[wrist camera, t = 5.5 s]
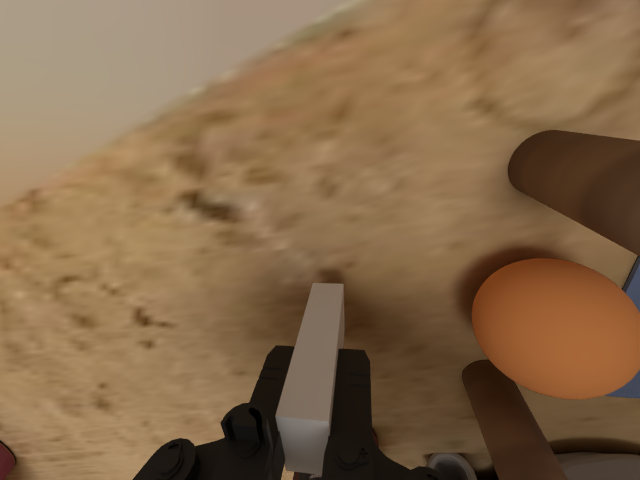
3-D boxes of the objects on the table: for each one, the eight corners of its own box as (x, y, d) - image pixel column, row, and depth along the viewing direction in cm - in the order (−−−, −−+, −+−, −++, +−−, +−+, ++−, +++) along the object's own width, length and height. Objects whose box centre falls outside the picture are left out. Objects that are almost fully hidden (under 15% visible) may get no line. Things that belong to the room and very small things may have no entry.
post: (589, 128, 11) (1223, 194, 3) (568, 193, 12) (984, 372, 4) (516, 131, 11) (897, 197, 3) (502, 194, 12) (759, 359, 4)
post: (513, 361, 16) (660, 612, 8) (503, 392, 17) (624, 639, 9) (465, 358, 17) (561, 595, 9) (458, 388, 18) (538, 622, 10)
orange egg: (629, 346, 7) (452, 259, 12) (567, 463, 10) (439, 353, 14) (708, 278, 9) (531, 226, 14) (641, 388, 12) (508, 313, 16)
